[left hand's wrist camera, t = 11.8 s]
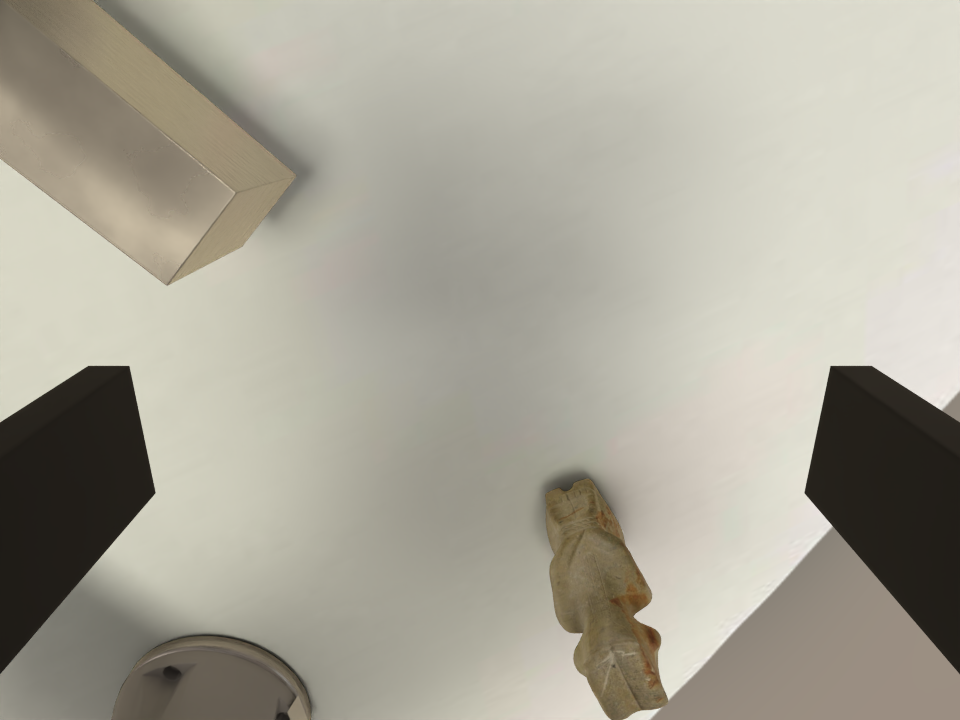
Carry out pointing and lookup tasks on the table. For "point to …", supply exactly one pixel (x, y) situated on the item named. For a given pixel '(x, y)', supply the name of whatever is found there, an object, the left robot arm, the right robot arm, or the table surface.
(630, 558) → the sculpture
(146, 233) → the bar
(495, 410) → the table surface
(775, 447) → the table surface
